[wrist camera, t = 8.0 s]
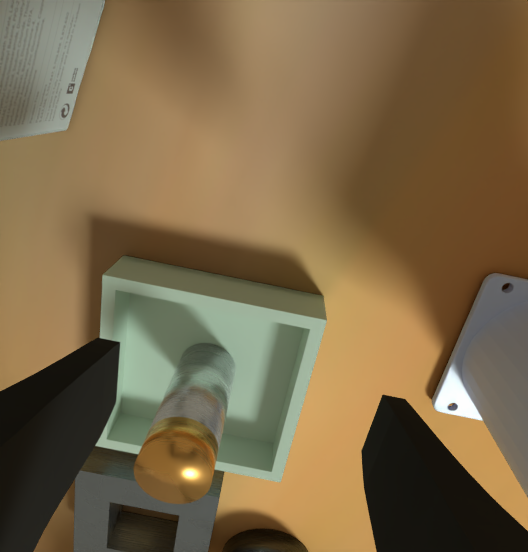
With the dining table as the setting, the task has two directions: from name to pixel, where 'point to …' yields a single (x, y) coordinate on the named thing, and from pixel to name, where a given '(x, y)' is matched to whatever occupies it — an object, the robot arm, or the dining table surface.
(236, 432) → the tray
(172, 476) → the pin
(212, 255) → the dining table surface
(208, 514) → the block
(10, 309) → the dining table surface
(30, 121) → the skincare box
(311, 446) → the dining table surface
